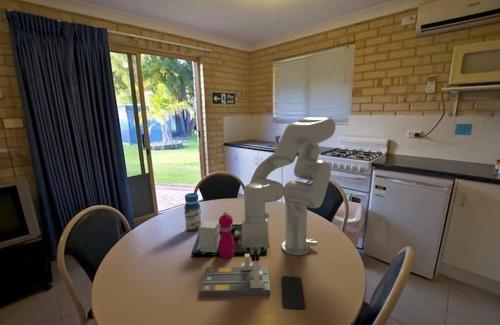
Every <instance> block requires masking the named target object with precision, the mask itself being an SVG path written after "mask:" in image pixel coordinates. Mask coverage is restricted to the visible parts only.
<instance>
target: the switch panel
mask: <svg viewBox="0 0 500 325" xmlns="http://www.w3.org/2000/svg"><path fill="white" fill-rule="evenodd" d="M268 269H269V268H268V266H259V271H262V274H263V279H259V280H263V288H250V280H254V279H250V271H254V266H253V270H242V266H235V267H234V266H233V267H232V266H231V267H228V266H227V267H225V266H224V267H222V266H221V267H206V268H205V271H204V274H203V278H202V282H201V286H200V289H199V296H200V297H214V296H215V297H221V296H222V297H225V296H226V297H228V296H230V297H231V296H233V297H234V296H270V295H271V287H270V286H271V285H270V276H269V270H268Z"/></svg>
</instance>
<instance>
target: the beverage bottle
mask: <svg viewBox="0 0 500 325" xmlns="http://www.w3.org/2000/svg"><path fill="white" fill-rule="evenodd" d="M184 201H185V205H184V207H183V209H184V211H183V212H184V213H183V214H184V215H185V216H184V219H185V232H186V233H188V234H199V227H200V226H201V224H202V218H201V214H202V210H201V204H200V202H199V194H198V193H196V192H189V193H187V194H185V195H184Z"/></svg>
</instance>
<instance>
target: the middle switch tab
mask: <svg viewBox="0 0 500 325" xmlns="http://www.w3.org/2000/svg"><path fill="white" fill-rule="evenodd" d="M259 261H260V260H259ZM259 261H256V260H255V261H254V264H253V267H254V270H259V267H260V264H259ZM250 279H254V271H250ZM259 279H263V274H262V271H259Z"/></svg>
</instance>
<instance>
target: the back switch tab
mask: <svg viewBox="0 0 500 325" xmlns="http://www.w3.org/2000/svg"><path fill="white" fill-rule="evenodd" d="M250 256H251V253H245V254H244V263H243V262H242V263H241V267H242V270H253V267H254V264H253V262H251V257H250Z"/></svg>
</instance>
